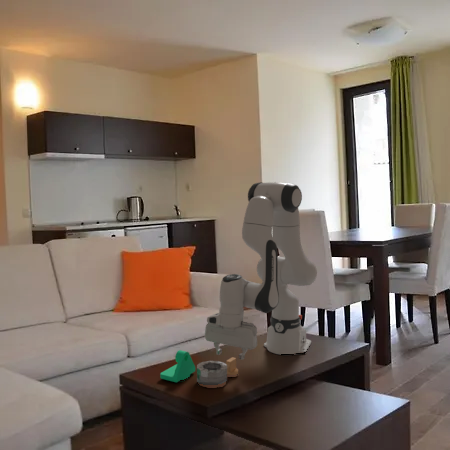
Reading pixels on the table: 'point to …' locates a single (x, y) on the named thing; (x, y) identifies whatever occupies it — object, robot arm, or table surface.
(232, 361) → the orange stepped plug
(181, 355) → the camera mount
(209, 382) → the knurled grey ring
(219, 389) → the table surface
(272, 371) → the table surface
